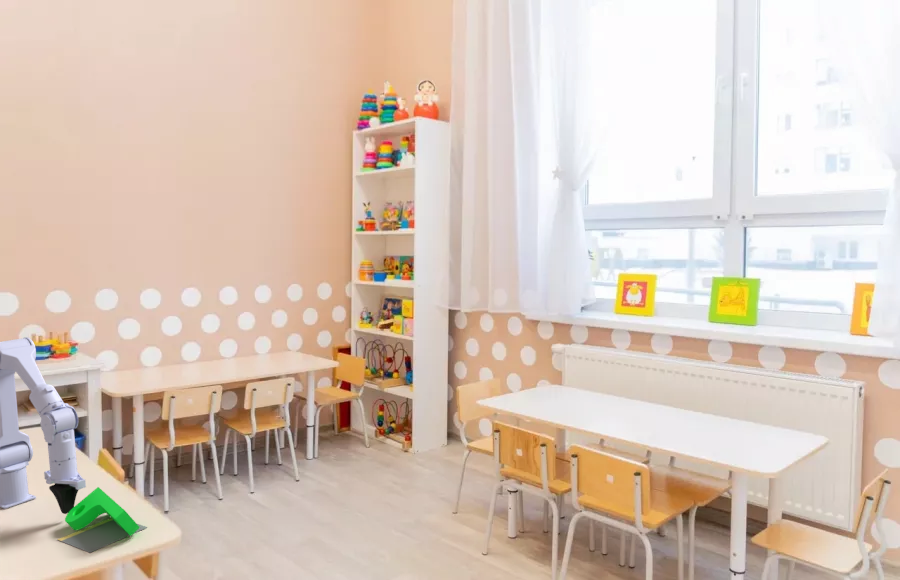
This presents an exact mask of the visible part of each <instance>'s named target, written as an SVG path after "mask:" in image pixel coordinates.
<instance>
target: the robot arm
mask: <svg viewBox="0 0 900 580" xmlns="http://www.w3.org/2000/svg"><path fill="white" fill-rule="evenodd" d="M36 357H37V349H36V345H35V343H34V340H32V339H31V338H30V337H23V338H17V339H9V340H3V341H0V508H1V509H8V508H11V507H14V506H17V505H20V504H23V503H26V502H29V501H31V500H35V499H36V498H37V496H36V495H33V494H30V493H29V482H28V475H27V474H28V472H27V466H29V465H30V463H29V462H31V461H32V459H33V457H34V448H33V446H32V443H31V438H30V436H29V434H27V433H25V432H23V431H20V429H19V427H20V426H19V415H18V414H19V413H18V402H17V390H16V377H15V376H16V375H15V373H16V374H17V375H18V376H19V378H20V379H21V380H22V381H23V383H24V384H25V386H26V387H27V388H28V389H29V390H30V394H29V395H28V396H29V397H28V398H29V400H30V403H31V404H32V405H33V408H34V409H35V410H36V412H37V413H38V415H39V416H40V424H39V425H40V428H41V431H42V433H43V438H44V442H46V443H47V451H48V462H49V470H45V471H44V472H43V476H44V480H45V483H46V484H48V485H50V486H49V487H48V488H49V490H50V492H51V493H52V494H53V496H54V498H55V499H56V501H57V504H58V507H59V509H60V511H61V514H63V515H67V514H68V513H69V511H70V510H71V509H72V508H73V507H75V503H76V499H77V495H78V492H79V490H81V489H85V488H87V485H86V479H85V478H83V477H82V476H81V474H80V473H79V472H78V463H77V451H76V439H75V429H77V428H78V426H79V415H78V413H77V410H76V409H75V407H73V405H69V403H65V402H64V401H63V399H62V397H61V396H60V394H59V393H58V391H57V390H56V388H55V386H54V385H52V384H49V383H46V381H45V379H44V377H43V375H42V372H41V371H40V369H39V366H38V365H37V362H36Z"/></svg>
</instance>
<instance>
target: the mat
mask: <svg viewBox="0 0 900 580" xmlns="http://www.w3.org/2000/svg"><path fill="white" fill-rule="evenodd" d="M136 524H137V525H138V526H139V527H140V528H139V529H138V530H137V531H136V532H135V533H134V534H137V533H138V532H140V531H144V530H146V529H147V528H148V526H145V525H141V524H138V523H136ZM129 536H130V535H129V534H128V533H127V532H125V531H124V530H123V529H122V528H121V527H120V526H119V525H118V524H117V523H116V522H115V521H114V520H113V519H112V518H111V517H109V518H107V519H105V520H102V521H99V522H97V523H94V524H92V525H89V526H86V527H84V528H82V529H80V530H76V531H75V532H72V533H70V534H67V535H65V536H62V537H60V538H57V541H59V542H62V543H64V544H66V545H67V544H68V545H69V546H72V547H75V548H76V549H79V550H82V551H85V552H87V553H90V554H91V553H93V552H95V551H97V550H99V549H102V548H104V547H106V546H108V545H111V544H113V543H115V542H117V541H120V540H122V539H125V538H126V537H129Z"/></svg>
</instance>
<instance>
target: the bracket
mask: <svg viewBox="0 0 900 580" xmlns="http://www.w3.org/2000/svg"><path fill="white" fill-rule="evenodd" d="M103 514H106V515H107V516H108V517H109V518H112V519H113V520H114V521H115V522H116V523H117V524H118V525H119V526H120V527H121V528H122V529H123V530H124V531H125V532H127V533H128V534H129V536H130V537H131V536H133V534H136V533H137V532H136V531H137V530H138V529H139V528H140V527H139V526H138V525H137V524H138V523H137V522H136V521H135V520H134V519H133V518H132V517H131V515H129V513H128V512H127V511H126V510H125V509H124V508H122V506H120V505H119V504H118V503H117V502H116V501H115V500H114V499H113V498H111V497H110V496H109V495H108V494H107V493H106V492H105V491H104V490H102V489H101V488H100V487H99V486H97V487H96V488H95V489H93V490H92V491H91V492H90V493H89V494H88V495H87V496H85V497H84V498H83V499H82V500H80V501H79V502H78V503H77V504H76V505H74V507H73V508H72V509H71V510H70V511H69V513H67V514H66V516H65V517H64V521H65V522H66V524H67V525H68V526H69V527H70V528H71V529H72V530H73V531H79V530H82V529H84V528H87V527H88V525H91V523H92V522H93V521H95V520H96V519H97V518H98V517H99V516H101V515H103ZM135 532H136V533H135Z"/></svg>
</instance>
